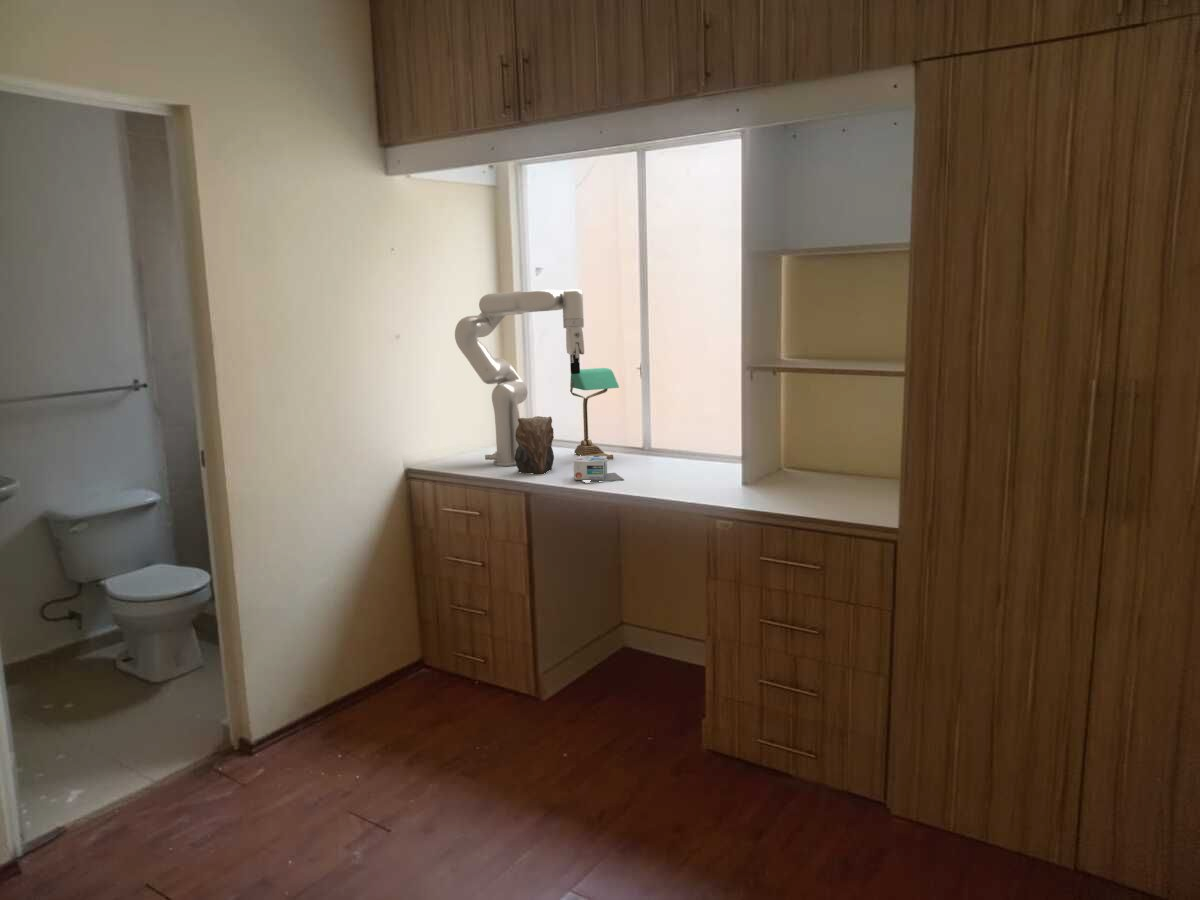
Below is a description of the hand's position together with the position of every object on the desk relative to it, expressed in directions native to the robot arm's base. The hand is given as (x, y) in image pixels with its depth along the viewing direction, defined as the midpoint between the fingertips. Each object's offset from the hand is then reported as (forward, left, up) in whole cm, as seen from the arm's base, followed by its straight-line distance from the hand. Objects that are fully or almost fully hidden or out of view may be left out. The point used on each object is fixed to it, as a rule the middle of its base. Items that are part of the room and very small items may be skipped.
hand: (575, 373), depth 322 cm
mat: (+2, -25, -35) cm, 43 cm away
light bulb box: (+1, -18, -32) cm, 36 cm away
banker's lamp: (+10, +16, -35) cm, 40 cm away
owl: (-17, -4, -35) cm, 39 cm away
